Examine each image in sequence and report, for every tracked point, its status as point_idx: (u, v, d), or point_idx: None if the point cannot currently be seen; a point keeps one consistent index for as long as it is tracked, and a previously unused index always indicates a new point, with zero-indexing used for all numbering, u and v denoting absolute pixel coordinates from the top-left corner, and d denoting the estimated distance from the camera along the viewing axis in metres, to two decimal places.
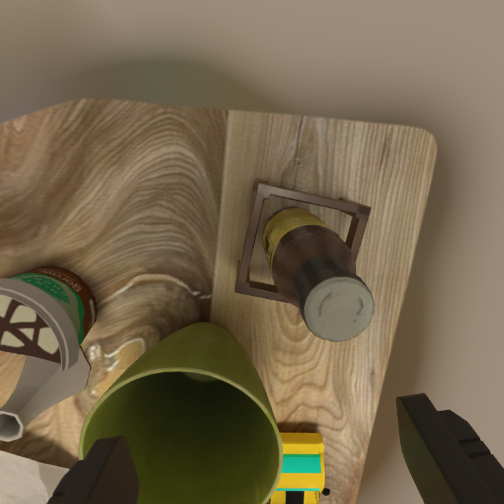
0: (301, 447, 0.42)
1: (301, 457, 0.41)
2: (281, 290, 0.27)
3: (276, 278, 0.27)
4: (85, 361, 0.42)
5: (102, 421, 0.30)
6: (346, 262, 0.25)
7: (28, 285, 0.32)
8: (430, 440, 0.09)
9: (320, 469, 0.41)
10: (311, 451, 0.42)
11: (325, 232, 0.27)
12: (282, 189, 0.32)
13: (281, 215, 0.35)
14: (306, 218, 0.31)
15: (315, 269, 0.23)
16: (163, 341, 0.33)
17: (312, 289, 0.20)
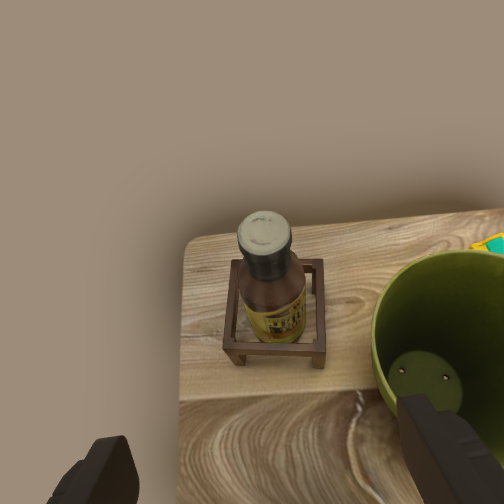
0: None
1: None
2: (288, 294, 0.31)
3: (280, 301, 0.32)
4: None
5: (501, 462, 0.24)
6: None
7: None
8: (430, 440, 0.09)
9: (497, 238, 0.40)
10: None
11: None
12: (225, 328, 0.38)
13: (254, 330, 0.40)
14: None
15: (248, 262, 0.29)
16: (393, 413, 0.30)
17: (250, 252, 0.27)
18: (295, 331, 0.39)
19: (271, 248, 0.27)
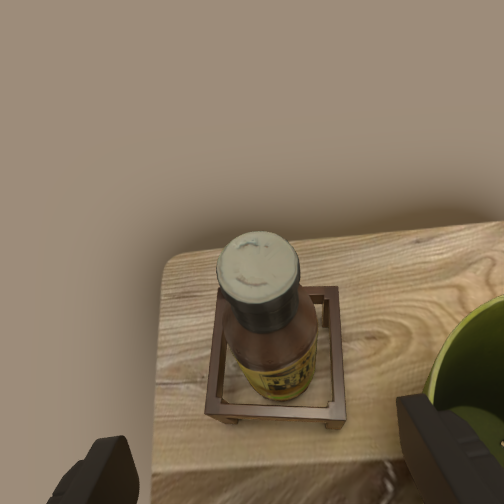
0: None
1: None
2: (295, 349, 0.22)
3: (283, 359, 0.22)
4: None
5: None
6: None
7: None
8: (430, 440, 0.09)
9: None
10: None
11: (222, 317, 0.24)
12: (209, 383, 0.28)
13: (249, 381, 0.31)
14: None
15: (234, 308, 0.19)
16: None
17: (235, 299, 0.17)
18: (303, 384, 0.29)
19: (269, 292, 0.17)
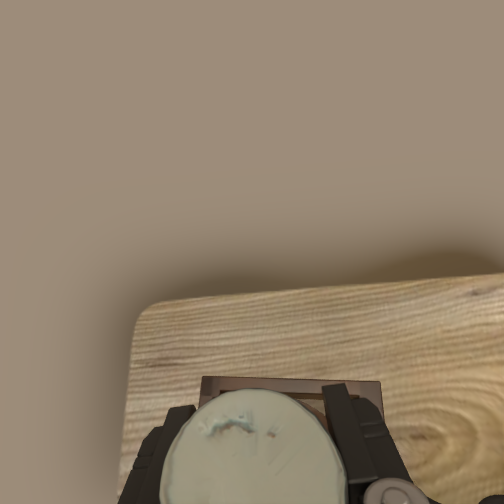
0: None
1: None
2: None
3: None
4: None
5: None
6: None
7: None
8: (337, 423, 0.10)
9: None
10: None
11: None
12: None
13: None
14: None
15: None
16: None
17: None
18: None
19: None
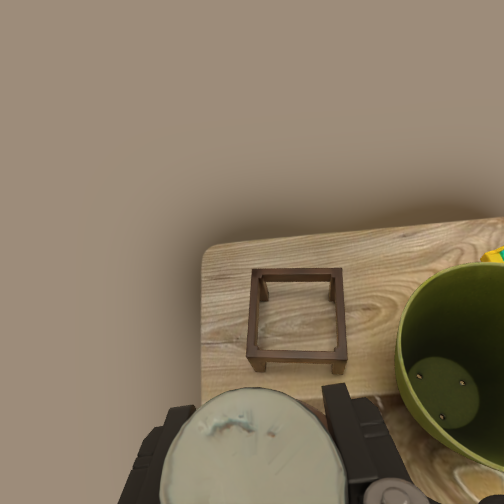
0: None
1: None
2: None
3: None
4: None
5: None
6: None
7: None
8: (337, 422, 0.10)
9: None
10: (499, 260, 0.42)
11: None
12: (248, 336, 0.39)
13: None
14: None
15: None
16: (416, 420, 0.31)
17: None
18: None
19: None
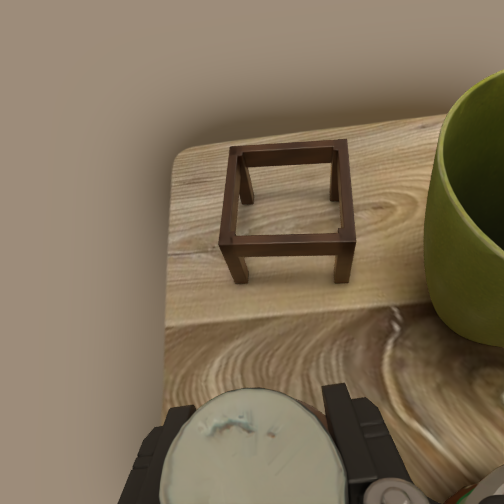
0: None
1: None
2: None
3: None
4: None
5: None
6: None
7: None
8: (337, 423, 0.10)
9: None
10: None
11: None
12: (222, 221, 0.29)
13: None
14: None
15: None
16: (458, 302, 0.21)
17: None
18: None
19: None
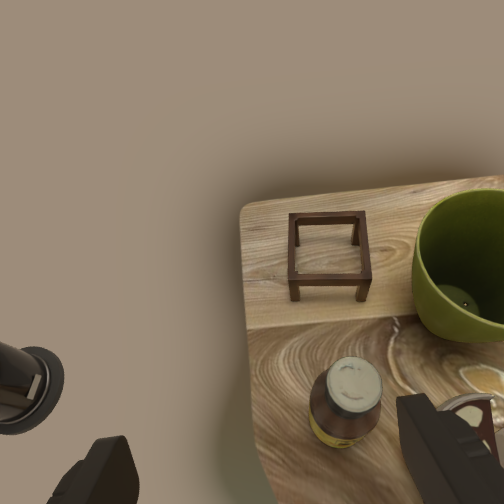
0: None
1: None
2: (368, 427, 0.31)
3: (359, 434, 0.31)
4: None
5: None
6: None
7: None
8: (430, 440, 0.09)
9: None
10: None
11: (311, 398, 0.33)
12: (289, 264, 0.47)
13: (316, 434, 0.40)
14: None
15: (333, 405, 0.29)
16: (429, 316, 0.40)
17: (343, 408, 0.26)
18: None
19: (365, 404, 0.26)
